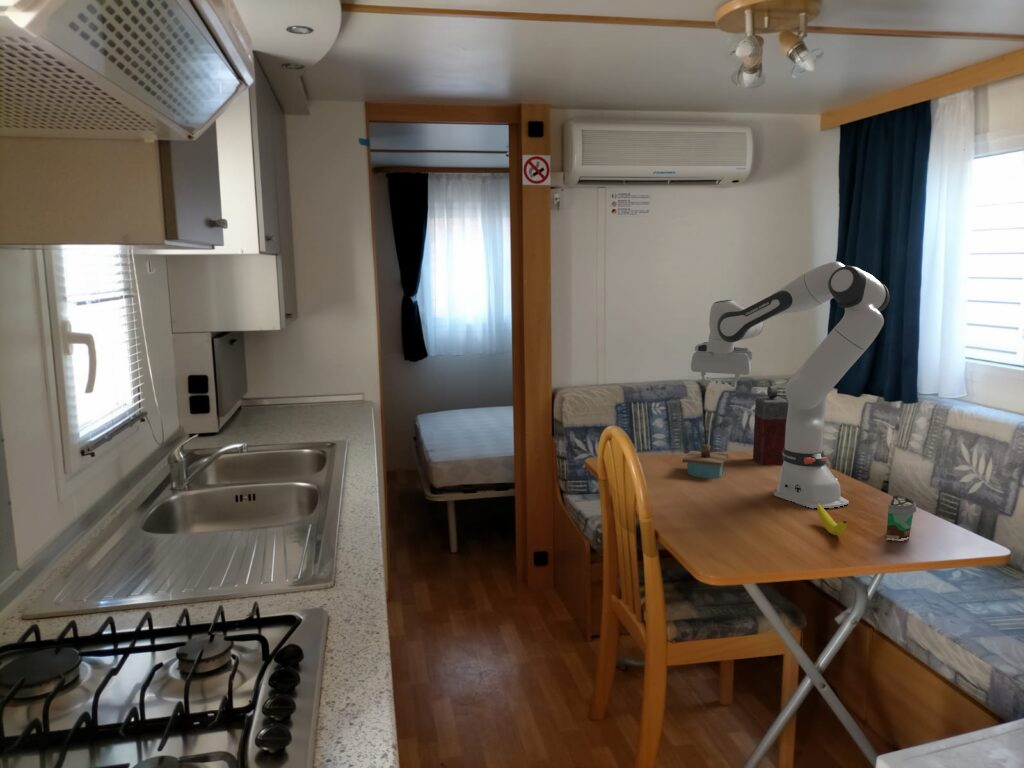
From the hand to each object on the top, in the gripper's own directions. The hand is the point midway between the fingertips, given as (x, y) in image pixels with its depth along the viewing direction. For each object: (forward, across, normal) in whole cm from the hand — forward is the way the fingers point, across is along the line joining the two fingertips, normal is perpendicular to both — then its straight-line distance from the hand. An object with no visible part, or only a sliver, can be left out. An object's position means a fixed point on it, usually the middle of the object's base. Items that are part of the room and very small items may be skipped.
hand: (719, 385), depth 264 cm
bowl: (+29, +2, +11) cm, 31 cm away
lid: (+24, +2, +11) cm, 27 cm away
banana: (+29, -40, +54) cm, 73 cm away
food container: (+29, -58, +50) cm, 82 cm away
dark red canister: (+29, -17, -14) cm, 37 cm away
